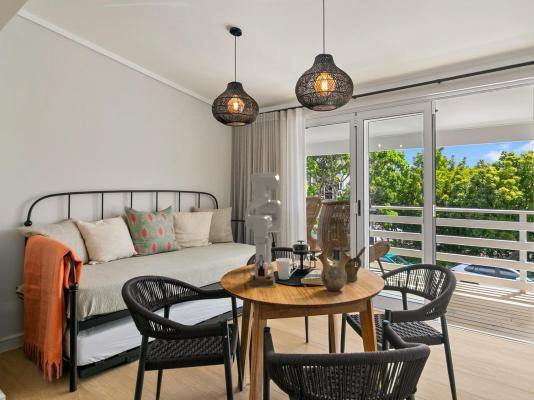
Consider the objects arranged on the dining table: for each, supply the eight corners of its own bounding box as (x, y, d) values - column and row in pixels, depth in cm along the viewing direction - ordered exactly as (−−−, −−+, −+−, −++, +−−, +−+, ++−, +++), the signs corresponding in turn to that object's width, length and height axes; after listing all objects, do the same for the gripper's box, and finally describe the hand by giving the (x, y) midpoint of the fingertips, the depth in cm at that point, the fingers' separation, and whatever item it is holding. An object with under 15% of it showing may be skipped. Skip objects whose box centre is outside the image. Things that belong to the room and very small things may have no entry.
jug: (254, 284, 166) (254, 264, 166) (255, 280, 173) (254, 261, 173) (273, 283, 166) (273, 264, 166) (273, 280, 173) (273, 261, 173)
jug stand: (248, 280, 180) (248, 272, 180) (274, 279, 180) (274, 272, 180) (246, 291, 160) (246, 283, 160) (275, 290, 160) (275, 282, 160)
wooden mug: (366, 282, 173) (366, 248, 172) (340, 281, 175) (340, 247, 175) (364, 278, 182) (364, 245, 181) (339, 277, 184) (339, 244, 183)
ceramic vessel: (316, 292, 157) (316, 239, 156) (316, 287, 166) (316, 237, 165) (352, 293, 155) (352, 240, 154) (350, 287, 164) (350, 237, 163)
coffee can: (330, 273, 193) (330, 249, 193) (335, 269, 202) (335, 246, 202) (348, 275, 188) (348, 250, 188) (352, 271, 198) (352, 247, 197)
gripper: (254, 238, 178) (254, 270, 178) (253, 243, 161) (253, 278, 161) (268, 238, 178) (268, 269, 178) (268, 243, 161) (269, 278, 161)
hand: (261, 273), depth 170 cm, fingers open, 9 cm apart
